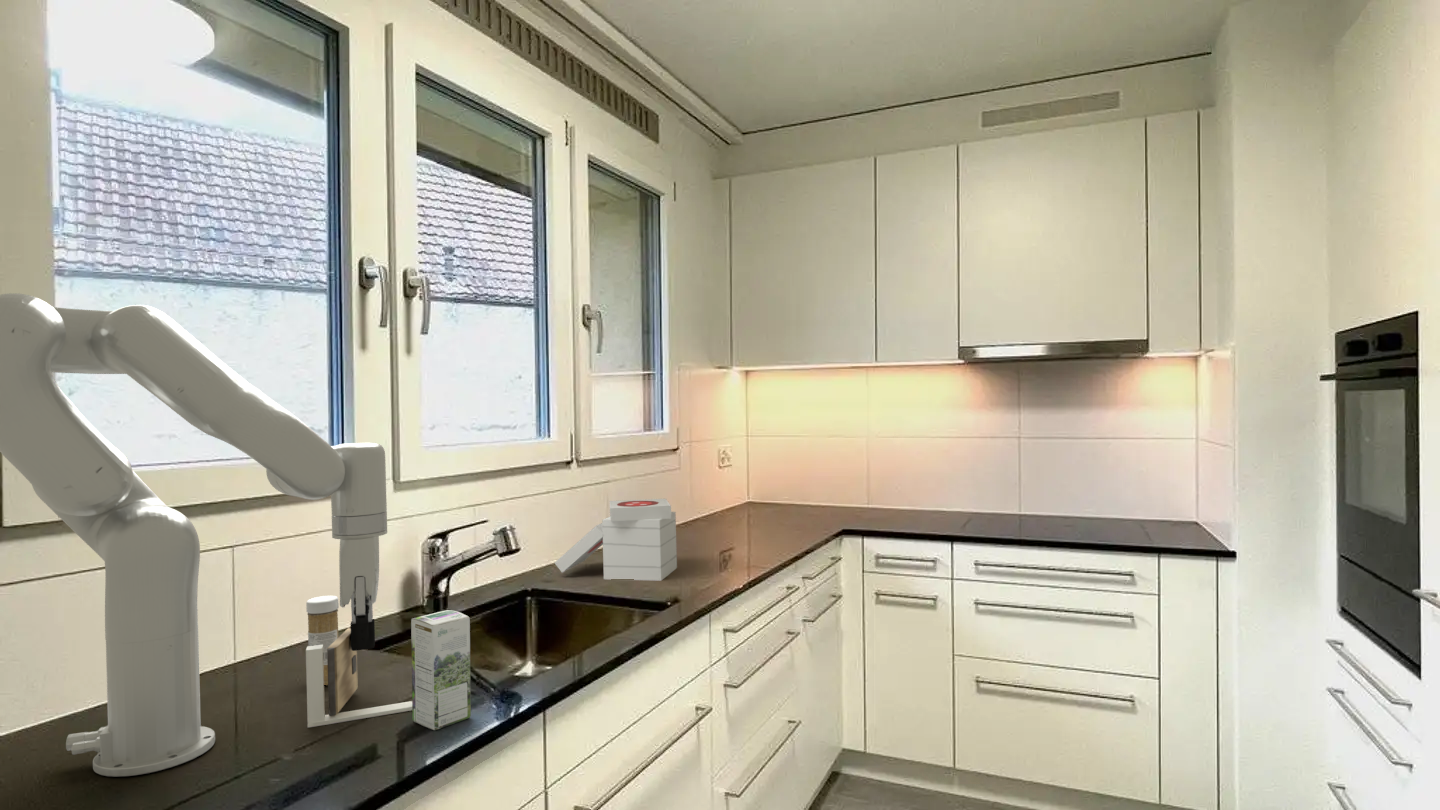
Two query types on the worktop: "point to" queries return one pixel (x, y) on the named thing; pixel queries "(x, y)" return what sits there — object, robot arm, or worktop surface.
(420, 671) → the syrup box
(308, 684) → the door frame
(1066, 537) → the worktop surface
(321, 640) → the sprinkles bottle
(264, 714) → the worktop surface
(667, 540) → the stacked pizza boxes
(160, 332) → the robot arm
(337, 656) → the door
